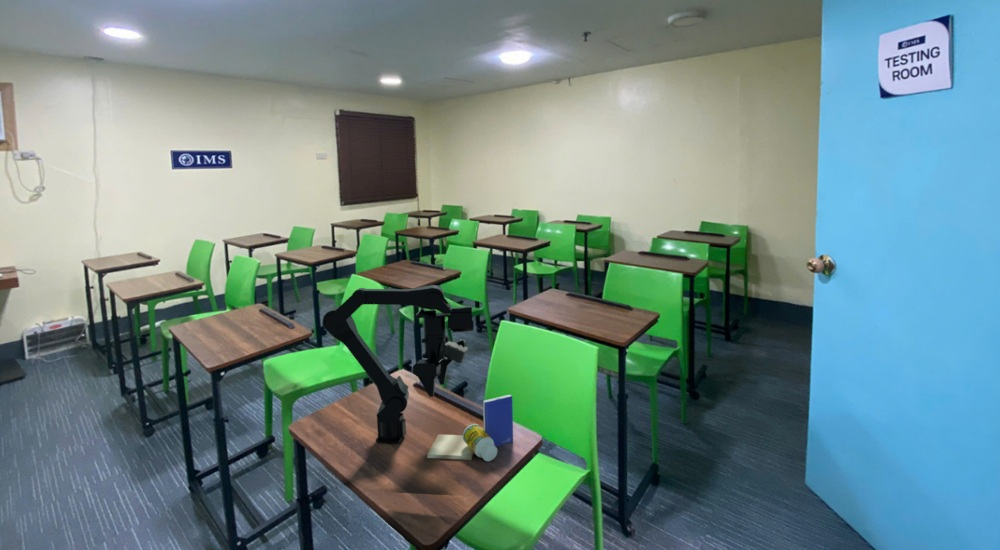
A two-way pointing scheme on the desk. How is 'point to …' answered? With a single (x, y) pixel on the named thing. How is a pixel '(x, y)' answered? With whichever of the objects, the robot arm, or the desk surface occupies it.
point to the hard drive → (499, 419)
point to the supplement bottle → (480, 442)
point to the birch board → (450, 448)
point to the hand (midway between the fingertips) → (436, 390)
